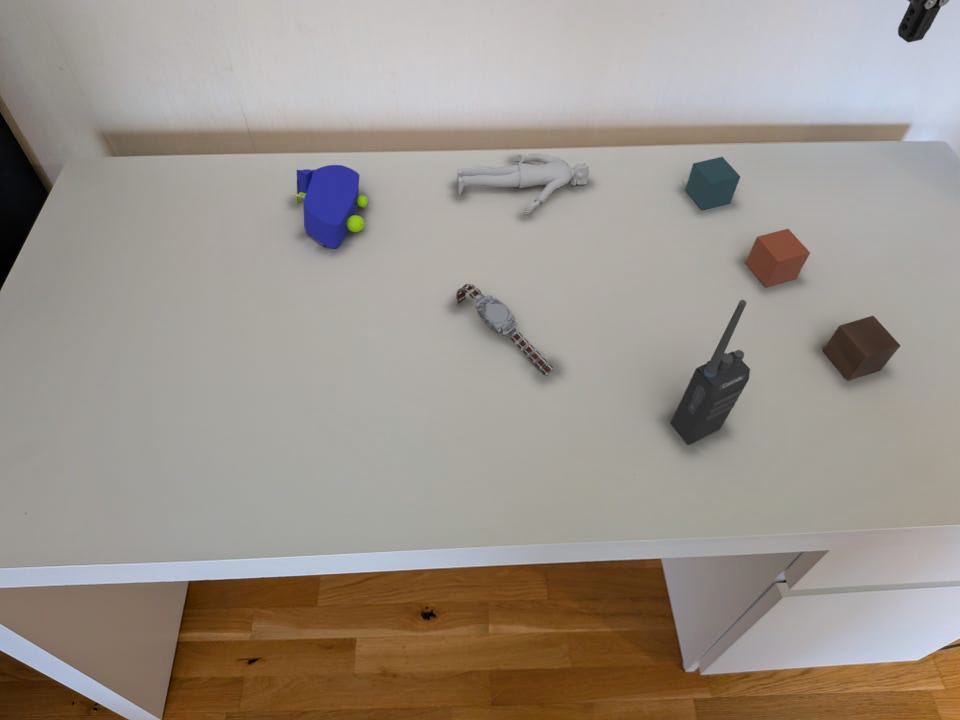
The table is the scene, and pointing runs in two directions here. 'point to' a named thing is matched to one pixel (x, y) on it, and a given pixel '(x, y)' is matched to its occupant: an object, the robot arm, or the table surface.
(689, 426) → the walkie-talkie
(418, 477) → the table surface
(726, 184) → the teal block
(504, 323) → the wristwatch
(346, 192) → the toy
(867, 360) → the walnut block
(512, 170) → the figurine
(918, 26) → the robot arm
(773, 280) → the terracotta block
